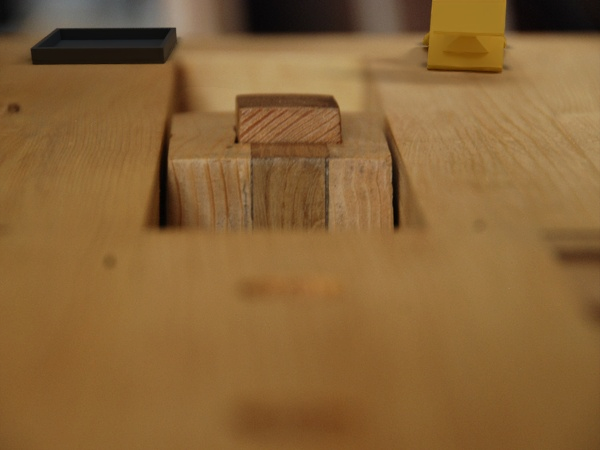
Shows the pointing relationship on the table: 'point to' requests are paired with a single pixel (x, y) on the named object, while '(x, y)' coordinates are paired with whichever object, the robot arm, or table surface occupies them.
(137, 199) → the table surface
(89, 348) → the table surface
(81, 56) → the tray
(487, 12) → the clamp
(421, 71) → the table surface
